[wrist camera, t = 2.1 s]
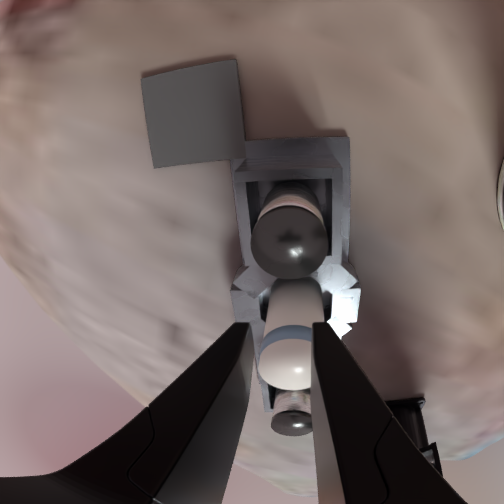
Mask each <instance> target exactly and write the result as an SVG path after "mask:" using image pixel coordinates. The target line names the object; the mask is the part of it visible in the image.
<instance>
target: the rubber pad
mask: <svg viewBox="0 0 504 504" xmlns="http://www.w3.org/2000/svg"><path fill="white" fill-rule="evenodd" d="M141 86H142V94H143V102H144V109H145V116H146V123H147V130H148V136H149V142H150V149H151V154H152V160H153V166H154V169H155V168H161V167H169V166H176V165H184V164H192V163H200V162H209V161H219V160H230V159H241V158H246V149H245V141H246V138H245V129H244V120H243V111H242V102H241V92H240V83H239V75H238V66H237V60H236V59H233V60H226V61H220V62H213V63H208V64H202V65H197V66H192V67H187V68H182V69H178V70H174V71H169V72H165V73H161V74H157V75H153V76H150V77H146V78H142V79H141ZM230 145H231V146H230Z"/></svg>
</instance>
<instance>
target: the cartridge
mask: <svg viewBox="0 0 504 504" xmlns="http://www.w3.org/2000/svg"><path fill="white" fill-rule="evenodd" d="M314 322H324V311H323V299H322V289H321V286H320V284H319V283H318V282H317V281H316V280H315V279H313V278H312V277H302V278H298V279H281V278H277V279H276V280H275V282H274V283H273V285H272V287H271V293H270V299H269V305H268V312H267V318H266V324H265V330H264V336H263V340H262V343H261V349H260V355H259V366H258V370H259V374H260V376H261V377H262V378H263V380H264V381H266V382H267V383H268V384H270V385H272V386H274V387H277V388H280V389H285V390H302V389H306V388H310V387H311V337H312V324H313V323H314Z"/></svg>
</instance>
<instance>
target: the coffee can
mask: <svg viewBox="0 0 504 504" xmlns="http://www.w3.org/2000/svg"><path fill="white" fill-rule="evenodd" d="M497 204H498V213H499V218H500V222H501V225H502V228H503V230H504V160H503V163H502V166H501V170H500V175H499V180H498V191H497Z"/></svg>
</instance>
